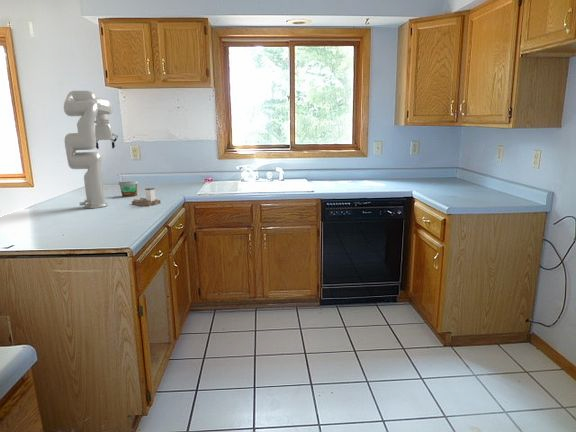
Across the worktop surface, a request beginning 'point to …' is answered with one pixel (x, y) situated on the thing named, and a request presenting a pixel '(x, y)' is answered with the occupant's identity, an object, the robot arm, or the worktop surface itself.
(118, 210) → the worktop surface
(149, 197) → the slider tab
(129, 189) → the food container
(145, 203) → the rail board
